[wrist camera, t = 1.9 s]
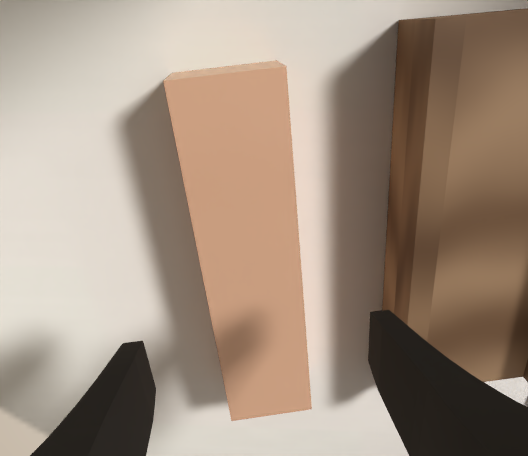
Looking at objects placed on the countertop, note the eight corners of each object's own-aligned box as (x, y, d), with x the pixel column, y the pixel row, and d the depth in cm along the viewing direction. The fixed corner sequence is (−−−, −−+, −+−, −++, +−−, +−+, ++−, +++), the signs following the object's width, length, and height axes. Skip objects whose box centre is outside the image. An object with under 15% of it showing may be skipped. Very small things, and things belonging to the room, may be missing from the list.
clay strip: (301, 364, 23) (311, 409, 20) (230, 375, 23) (231, 420, 20) (275, 59, 16) (286, 66, 13) (173, 72, 16) (163, 80, 13)
